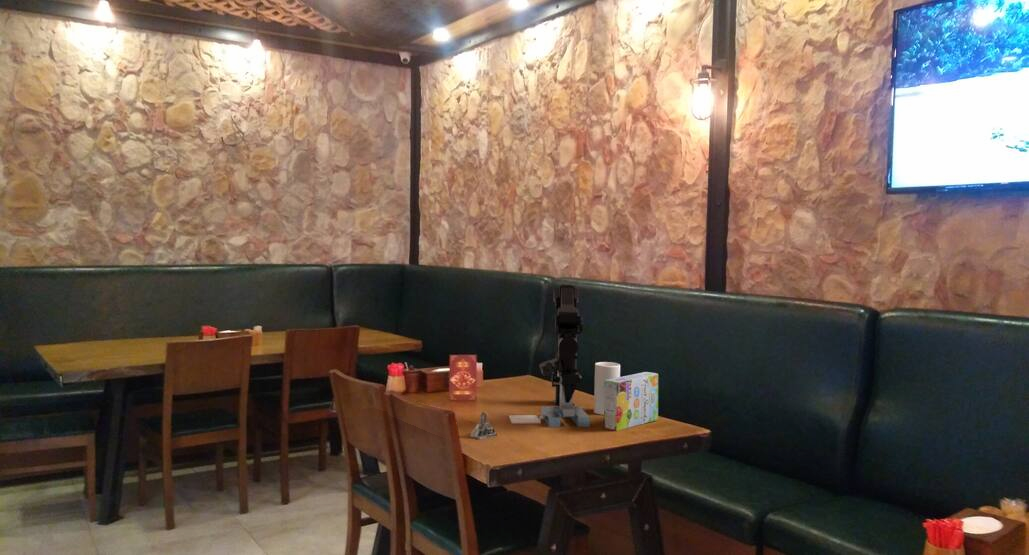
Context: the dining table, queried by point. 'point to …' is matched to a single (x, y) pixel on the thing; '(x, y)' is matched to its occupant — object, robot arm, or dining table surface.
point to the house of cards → (483, 428)
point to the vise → (554, 416)
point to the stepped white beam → (566, 404)
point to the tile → (524, 419)
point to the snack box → (630, 400)
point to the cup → (603, 373)
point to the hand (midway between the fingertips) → (566, 401)
